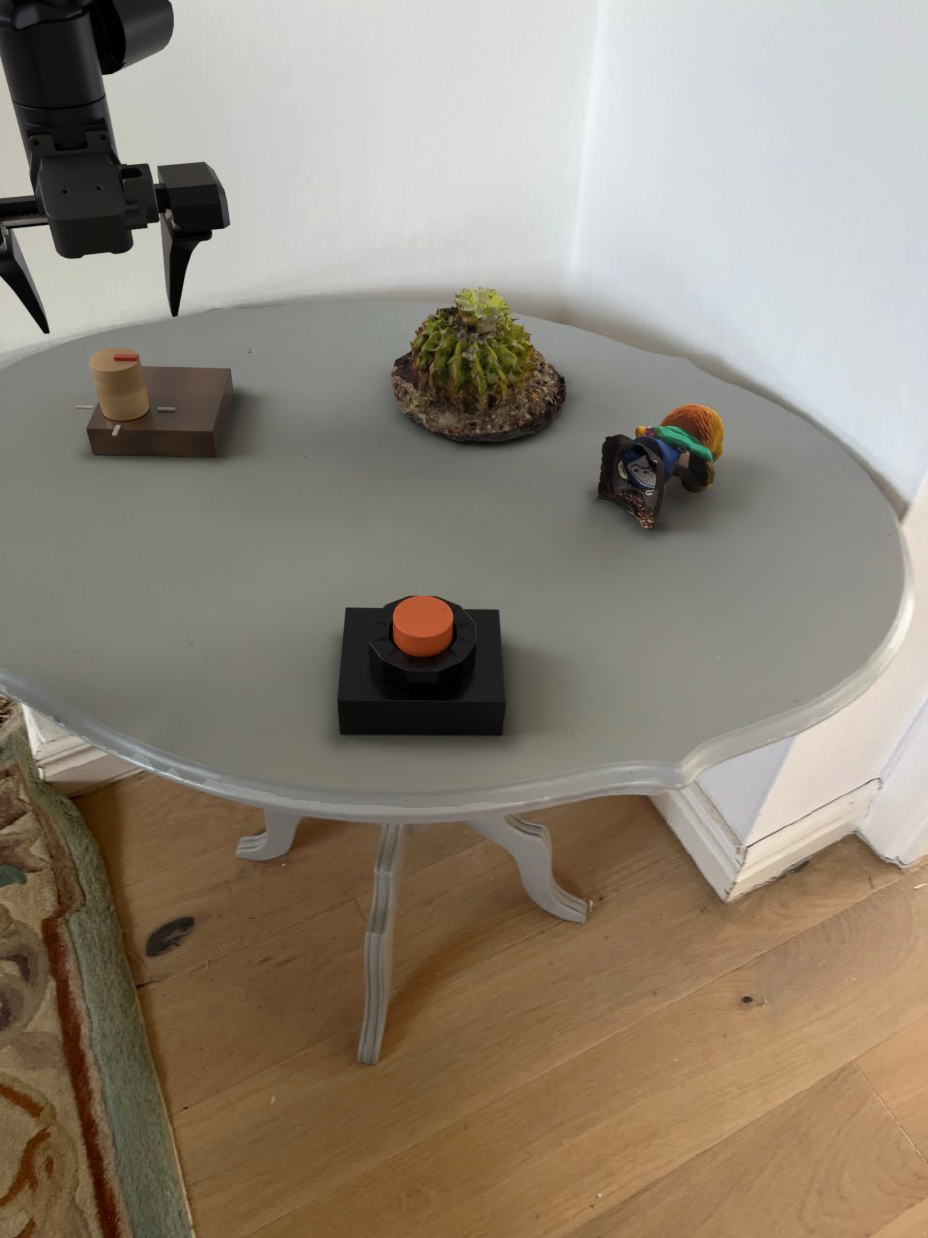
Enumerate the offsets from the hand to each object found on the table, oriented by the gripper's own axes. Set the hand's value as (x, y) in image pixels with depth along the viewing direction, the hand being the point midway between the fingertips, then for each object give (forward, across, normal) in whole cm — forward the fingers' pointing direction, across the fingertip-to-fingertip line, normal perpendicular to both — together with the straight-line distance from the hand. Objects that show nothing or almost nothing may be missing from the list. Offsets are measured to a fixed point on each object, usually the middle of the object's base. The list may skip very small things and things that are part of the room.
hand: (111, 322), depth 72 cm
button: (+6, +13, -33) cm, 36 cm away
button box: (+11, +13, -33) cm, 37 cm away
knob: (+8, 0, +2) cm, 9 cm away
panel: (+11, +3, +3) cm, 12 cm away
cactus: (+11, +30, -1) cm, 32 cm away
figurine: (+11, +38, -18) cm, 44 cm away
